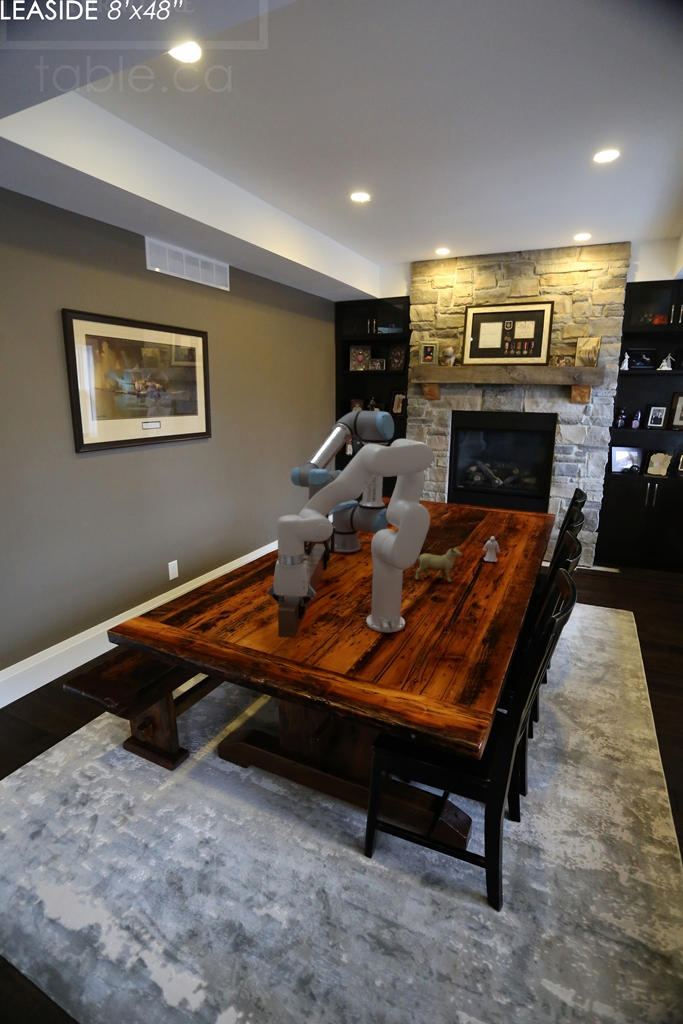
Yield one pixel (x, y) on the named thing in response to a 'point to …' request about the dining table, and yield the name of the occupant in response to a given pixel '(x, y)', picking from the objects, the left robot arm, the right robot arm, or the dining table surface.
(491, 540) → the figurine
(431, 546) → the dining table surface
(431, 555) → the toy
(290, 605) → the bar
